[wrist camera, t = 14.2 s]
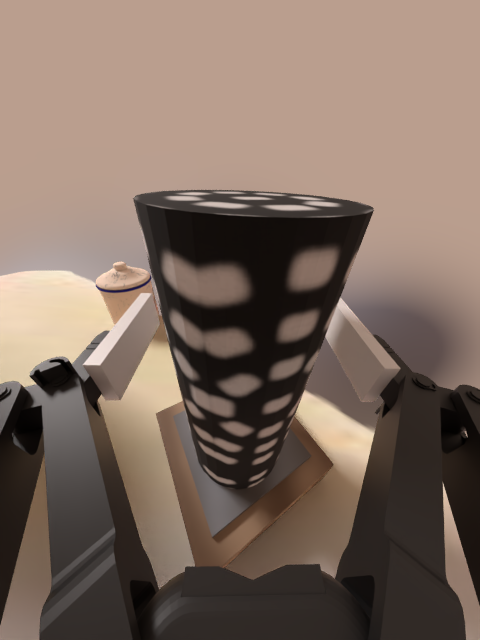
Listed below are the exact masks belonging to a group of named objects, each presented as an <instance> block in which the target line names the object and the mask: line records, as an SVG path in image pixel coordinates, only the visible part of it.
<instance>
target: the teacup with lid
mask: <svg viewBox="0 0 480 640" xmlns="http://www.w3.org/2000/svg"><path fill="white" fill-rule="evenodd" d="M113 267H114V268H113V269H111V270H110V271H109V272H106V273H104V274H102V275H101V276H99V277H98V278H97V280H96V287H97V288H98V289H99V290H100V292H101V295H102V297H103V299H104V302H105V304H106V306H107V308H108V311H109V313H110V315H111V318H112V320H113V322H114V324H115V325H116V323H117V322H118V321H119V320H120V318H121V317H122V316H123V315H124V313H125V312H126V311H127V310H128V309H129V307H130V306H131V305H132V304H133V302H134V301H135V300H136V299H137V297H138V296H139V295H140V294H141V293H152V295H153V299H154V303H155V307H156V311H157V314H159V311H158V307H157V304H156V300H155V296H154V292H153V288H152V284H151V276H150V274H149V273H148V272H147V271H146V270H144V269H140V268H133V267H129V266H126V264H125V263H124V262H116V263H114V264H113Z"/></svg>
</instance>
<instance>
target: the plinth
mask: <svg viewBox="0 0 480 640" xmlns="http://www.w3.org/2000/svg"><path fill="white" fill-rule="evenodd" d="M156 415H157V419H158V423H159V427H160V431H161V435H162V439H163V442H164V446H165V450H166V454H167V458H168V462H169V466H170V469H171V473H172V477H173V481H174V485H175V489H176V493H177V496H178V500H179V504H180V508H181V512H182V516H183V520H184V523H185V527H186V531H187V535H188V539H189V543H190V547H191V550H192V554H193V558H194V562H195V566H196V567H200V566H220V567H222V568H225V567H226V566H227V565H228V564H229V563H230V562H231V561H232V560H233V559H235V558H236V557H237V556H238V555H239V554H240V553H241V552H242V551H243V550H244V549H245V548H247V547H248V546H249V545H250V544H251V543H252V542H253V541H254V540H255V539H256V538H257V537H259V536H260V535H261V534H262V533H263V532H264V531H265V530H266V529H267V528H268V527H269V526H271V525H272V524H273V523H274V522H275V521H276V520H277V519H278V518H279V517H280V516H281V515H283V514H284V513H285V512H286V511H287V510H288V509H289V508H290V507H291V506H292V505H293V504H295V503H296V502H297V501H298V500H299V499H300V498H301V497H302V496H303V495H304V494H305V493H306V492H308V491H309V490H310V489H311V488H312V487H313V486H314V485H315V484H316V483H317V482H318V481H320V480H321V479H322V478H323V477H324V476H325V474H326V473H327V472H328V471H329V470H330V469H331V467H332V466H333V465H334V464H333V463H332V462H331V461H330V459H329V458H328V457H327V456H326V454H325V453H324V452H323V451H322V450H321V448H320V447H319V446H318V445H317V443H316V442H315V441H314V440H313V439H312V437H311V436H310V435H309V434H308V432H307V431H306V430H305V429H304V428H303V426H302V425H301V424H300V423H299V421H298V420H297V419H296V418H295V417H294V418H293V421H292V423H291V426H290V429H289V431H288V434H287V436H286V439H285V441H284V444H283V447H282V449H281V452H280V454H279V457H278V460H277V462H276V464H275V466H274V468H273V469H272V471H271V473H270V474H269V475H268V476H267V477H266V478H265V479H264V480H262V481H261V482H260V483H258V484H257V485H254V486H252V487H249V488H245V489H231V488H226V487H223V486H221V485H219V484H217V483H216V482H214V481H213V480H211V479H210V478H209V477H208V476H207V475H206V473H205V472H204V471H203V469H202V468H201V466H200V464H199V462H198V459H197V456H196V452H195V448H194V444H193V440H192V436H191V432H190V428H189V424H188V420H187V416H186V411H185V407H184V403H183V401H182V402H180V403H178V404H175V405H173V406H171V407H169V408H167V409H165V410H162V411H160V412H158V413H156Z"/></svg>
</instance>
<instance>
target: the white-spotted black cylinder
mask: <svg viewBox="0 0 480 640" xmlns="http://www.w3.org/2000/svg"><path fill="white" fill-rule="evenodd" d="M133 199H134V203H135V207H136V211H137V215H138V219H139V223H140V228H141V231H142V235H143V239H144V244H145V248H146V252H147V256H148V260H149V264H150V269H151V273H152V277H153V281H154V285H155V289H156V293H157V297H158V301H159V305H160V309H161V313H162V318H163V322H164V326H165V330H166V334H167V338H168V342H169V346H170V350H171V354H172V358H173V362H174V367H175V371H176V375H177V379H178V383H179V387H180V391H181V395H182V399H183V403H184V407H185V411H186V416H187V420H188V424H189V428H190V432H191V436H192V440H193V444H194V448H195V452H196V456H197V459H198V462H199V464H200V466H201V468H202V469H203V471H204V472H205V473H206V475H207V476H208V477H209V478H210V479H211V480H213V481H214V482H216V483H217V484H219V485H221V486H223V487H226V488H231V489H245V488H249V487H252V486H254V485H257V484H258V483H260V482H261V481H262V480H264V479H265V478H266V477H267V476H268V475H269V474H270V473H271V471H272V469H273V468H274V466H275V464H276V462H277V460H278V457H279V454H280V452H281V449H282V447H283V444H284V441H285V439H286V436H287V434H288V431H289V429H290V426H291V423H292V421H293V418H294V416H295V413H296V410H297V408H298V405H299V403H300V400H301V397H302V395H303V392H304V390H305V387H306V384H307V382H308V379H309V377H310V374H311V372H312V369H313V366H314V363H315V361H316V359H317V356H318V353H319V351H320V348H321V346H322V343H323V340H324V338H325V335H326V333H327V330H328V328H329V325H330V322H331V320H332V317H333V315H334V312H335V309H336V307H337V304H338V302H339V299H340V296H341V294H342V291H343V289H344V286H345V283H346V281H347V278H348V276H349V273H350V271H351V267H352V265H353V263H354V260H355V258H356V255H357V252H358V250H359V247H360V245H361V242H362V239H363V237H364V234H365V232H366V229H367V226H368V224H369V221H370V219H371V216H372V213H373V211H374V210H373V207H371V206H368V205H365V204H362V203H358V202H353V201H349V200H342V199H336V198H329V197H321V196H311V195H301V194H290V193H274V192H259V191H234V190H232V191H231V190H181V191H162V192H151V193H145V194H141V195H137V196H135V197H134V198H133Z"/></svg>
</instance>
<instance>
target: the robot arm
mask: <svg viewBox="0 0 480 640" xmlns="http://www.w3.org/2000/svg"><path fill="white" fill-rule="evenodd" d="M159 325H160V322H159V318H158V314H157V311H156V307H155V303H154V299H153V295H152V293H141V294H140V295H139V296H138V297H137V299H136V300H135V301H134V302H133V304H132V305H131V306H130V307H129V309H128V310H127V311H126V312H125V313H124V315H123V316H122V317H121V318H120V320H119V321H118V322H117V323H116V325H115V326H114V327H113V328H112V329H111V331H104V332H102V333H101V334H99V335H98V336H96V337H95V338H94V340H93V341H92V342H91V344H89V345H88V346H87V348H86V350H84V351H83V352H82V353H81V355H80V356H79V357H78V358H77V359H76V360H75V361H74V363H73V364H71V363H70V361H69V360H68V359H67V358H65V357H55V358H51V359H48V360H46V361H44V362H42V363H40V364H39V365H37V366H36V367H35V368H34V369H33V370H32V371H31V373H30V377H31V378H32V379H33V380H34V381H35V383H36V385H32V386H28V387H23V386H22V385H21V384H20V383H19V382H16V381H11V382H5V383H3V384H0V624H1V620H2V616H3V612H4V608H5V604H6V600H7V596H8V593H9V589H10V585H11V581H12V577H13V573H14V569H15V565H16V561H17V557H18V553H19V549H20V546H21V542H22V538H23V534H24V530H25V526H26V522H27V518H28V514H29V510H30V506H31V502H32V499H33V495H34V491H35V487H36V483H37V479H38V475H39V471H40V467H41V463H42V459H43V455H44V452H45V469H46V487H47V504H48V522H49V540H50V557H51V575H52V587H51V592H50V595H49V596H48V598H47V600H46V602H45V604H44V606H43V609H42V613H41V618H40V640H466V634H465V621H464V615H463V609H462V606H461V603H460V601H459V598H458V596H457V595H456V593H455V592H454V591H453V590H452V588H451V587H450V586H449V584H448V582H447V579H446V572H445V543H444V512H443V484H444V487H445V490H446V494H447V497H448V500H449V504H450V507H451V511H452V514H453V517H454V521H455V524H456V527H457V531H458V534H459V537H460V541H461V544H462V548H463V551H464V554H465V558H466V561H467V564H468V568H469V571H470V575H471V578H472V581H473V585H474V588H475V591H476V595H477V598H478V601H479V605H480V390H479V389H477V388H475V387H472V386H469V385H459V386H458V387H457V388H456V389H455V390H450V389H446V388H442V387H438V386H437V385H436V384H435V383H434V382H433V381H432V380H430V379H429V378H428V377H426V376H424V375H422V374H418V373H413V372H412V371H411V370H410V369H409V367H408V366H407V365H406V364H405V363H404V362H403V361H402V360H401V358H399V356H398V355H397V354H395V352H394V351H393V350H392V348H390V346H389V345H388V344H387V343H386V342H385V341H384V340H383V339H382V338H380V337H379V336H377V335H372V334H371V333H370V332H369V331H368V329H367V328H366V327H365V326H364V325H363V324H362V322H361V321H360V320H359V319H358V318H357V316H356V315H355V314H354V313H353V312H352V311H351V309H350V308H349V307H348V306H347V305H346V303H345V302H344V301H343V300H342V299H341V298H340V299H339V302H338V304H337V307H336V309H335V312H334V315H333V317H332V320H331V322H330V325H329V328H328V330H327V333H326V335H325V337H326V339H327V340H328V342H329V344H330V346H331V348H332V350H333V351H334V353H335V355H336V357H337V358H338V360H339V362H340V364H341V366H342V368H343V370H344V371H345V373H346V375H347V377H348V379H349V380H350V382H351V384H352V386H353V388H354V390H355V391H356V393H357V395H358V397H359V399H360V401H361V402H375V401H376V400H377V398H378V397H379V396H381V397H382V399H383V400H384V402H383V403H382V404H381V406H380V407H379V408H378V409H377V410H376V412H375V413H376V414H378V413H379V417H378V421H377V425H376V429H375V434H374V438H373V442H372V446H371V451H370V455H369V459H368V464H367V468H366V472H365V476H364V481H363V485H362V489H361V493H360V498H359V502H358V506H357V511H356V515H355V519H354V523H353V528H352V532H351V536H350V540H349V543H348V546H347V547H346V549H345V551H344V553H343V554H342V557H341V559H340V562H339V566H338V570H337V574H336V578H335V579H334V578H333V577H332V576H330V575H328V574H327V573H325V572H323V571H321V569H320V564H308V565H286V566H283V567H281V568H278V569H276V570H274V571H271V572H269V573H267V574H265V575H263V576H261V577H259V578H257V579H255V580H251V579H248V578H246V577H244V576H241V575H239V574H236V573H234V572H232V571H229V570H227V569H224V568H222V567H220V566H200V567H185V572H183V573H181V574H179V575H177V576H176V577H174V578H173V579H171V580H170V581H169V582H167V583H166V584H165V585H164V586H163V587H162V588H161V589H160V590H159V588H158V585H157V581H156V578H155V575H154V572H153V569H152V566H151V563H150V561H149V558H148V556H147V554H146V553H145V551H144V549H143V546H142V544H141V541H140V537H139V534H138V531H137V527H136V524H135V521H134V517H133V514H132V511H131V507H130V504H129V501H128V497H127V494H126V491H125V487H124V484H123V481H122V477H121V474H120V471H119V467H118V464H117V461H116V457H115V454H114V451H113V447H112V444H111V441H110V437H109V434H108V431H107V427H106V424H105V421H104V417H103V414H102V411H101V407H100V404H99V403H98V401H97V400H98V398H99V397H100V395H101V394H102V395H103V397H104V399H105V400H121V398H122V396H123V394H124V392H125V390H126V388H127V387H128V385H129V383H130V381H131V379H132V377H133V375H134V373H135V371H136V369H137V367H138V365H139V363H140V361H141V360H142V358H143V356H144V354H145V352H146V350H147V348H148V346H149V344H150V342H151V340H152V338H153V336H154V334H155V332H156V331H157V329H158V327H159ZM464 431H467V435H468V438H467V436H466V434H465V432H464Z"/></svg>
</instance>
